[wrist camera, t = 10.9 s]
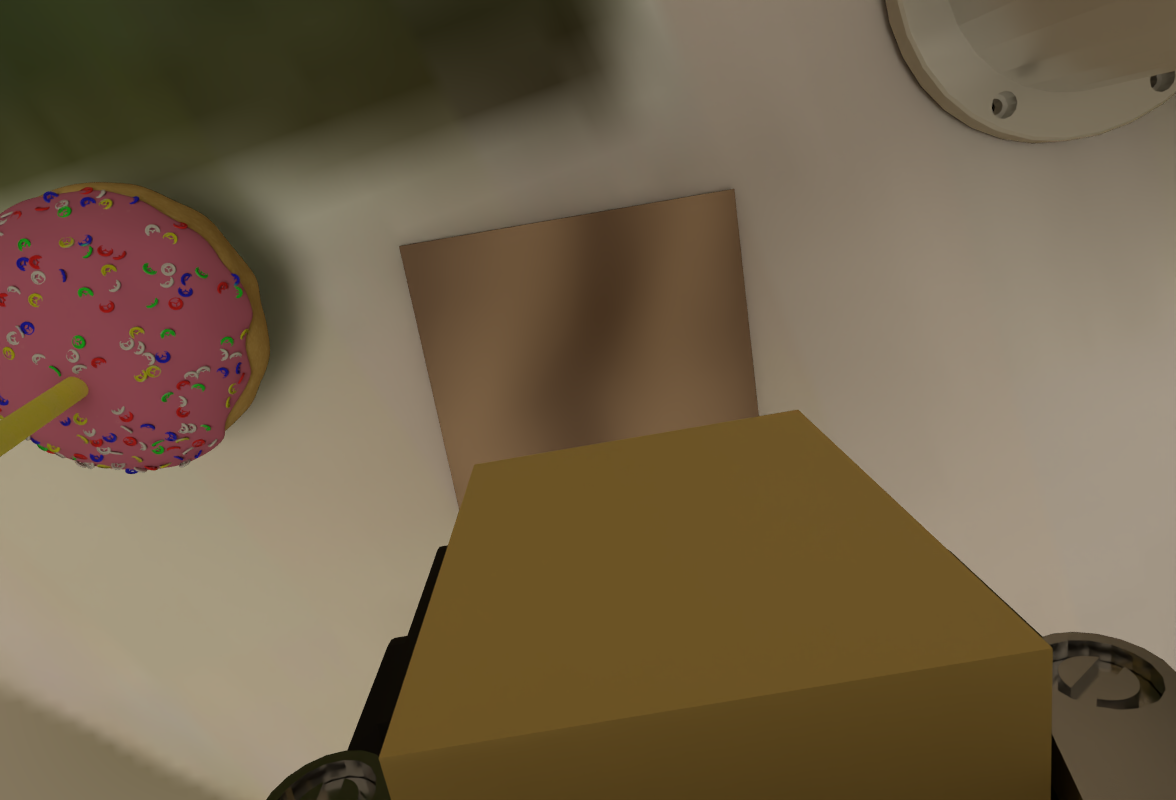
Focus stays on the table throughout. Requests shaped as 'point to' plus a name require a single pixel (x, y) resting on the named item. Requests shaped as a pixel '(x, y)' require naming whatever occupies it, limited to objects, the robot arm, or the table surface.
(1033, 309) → the table surface
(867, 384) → the table surface
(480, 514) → the mustard block
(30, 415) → the cupcake
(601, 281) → the walnut mat
